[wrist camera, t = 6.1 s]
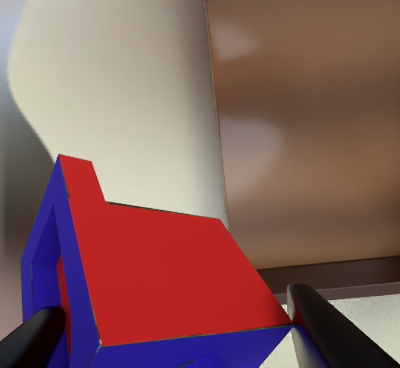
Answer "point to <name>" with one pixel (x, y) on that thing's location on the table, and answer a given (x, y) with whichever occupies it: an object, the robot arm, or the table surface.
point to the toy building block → (143, 283)
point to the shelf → (311, 140)
